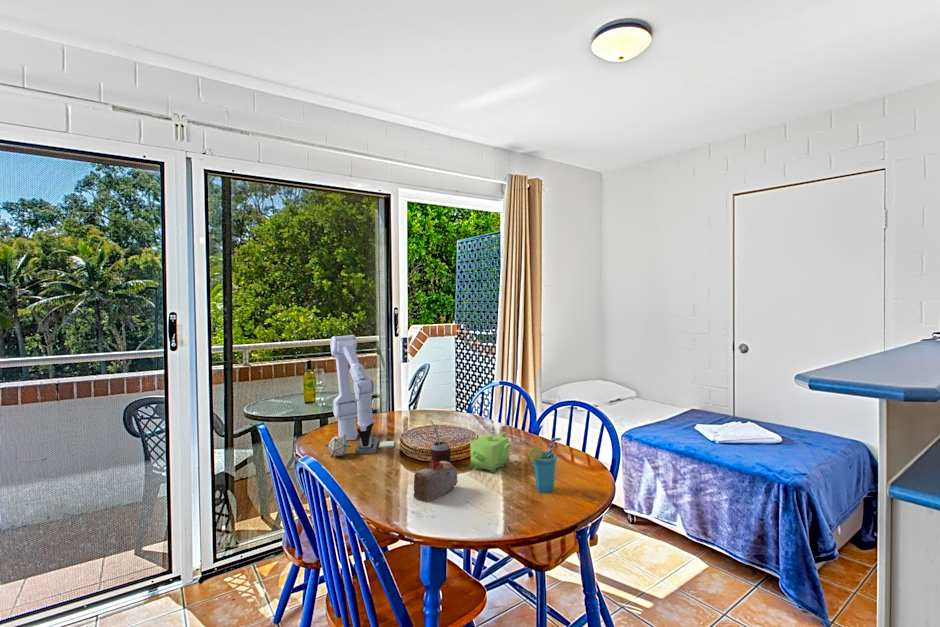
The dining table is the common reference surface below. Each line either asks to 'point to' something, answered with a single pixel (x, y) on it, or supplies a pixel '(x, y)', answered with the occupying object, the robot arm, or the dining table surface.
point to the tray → (386, 444)
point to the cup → (544, 467)
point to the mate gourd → (440, 450)
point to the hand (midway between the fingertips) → (366, 443)
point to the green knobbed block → (490, 452)
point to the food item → (434, 480)
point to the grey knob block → (369, 443)
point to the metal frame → (369, 450)
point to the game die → (338, 446)
